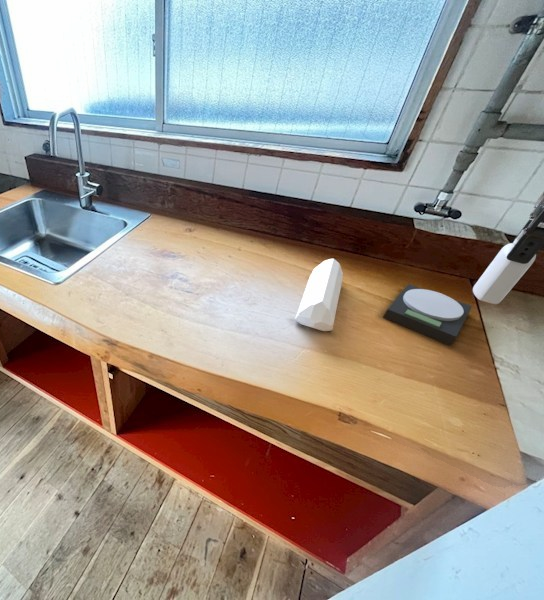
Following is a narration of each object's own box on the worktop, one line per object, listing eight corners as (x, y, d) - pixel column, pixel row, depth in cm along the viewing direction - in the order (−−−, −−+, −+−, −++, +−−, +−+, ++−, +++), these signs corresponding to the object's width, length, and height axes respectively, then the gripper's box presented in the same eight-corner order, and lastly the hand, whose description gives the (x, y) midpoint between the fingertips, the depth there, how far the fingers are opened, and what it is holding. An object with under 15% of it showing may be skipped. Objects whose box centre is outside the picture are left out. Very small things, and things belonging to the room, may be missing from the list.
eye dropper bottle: (513, 297, 50) (575, 225, 42) (492, 307, 48) (552, 234, 41) (480, 282, 53) (532, 213, 45) (459, 291, 51) (509, 221, 44)
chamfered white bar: (346, 328, 63) (355, 270, 79) (317, 304, 64) (332, 252, 80) (316, 344, 69) (330, 287, 85) (290, 322, 69) (309, 270, 85)
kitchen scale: (466, 314, 71) (474, 303, 69) (449, 345, 64) (458, 333, 62) (403, 291, 79) (409, 280, 77) (382, 317, 71) (389, 306, 69)
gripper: (690, 134, 29) (552, 284, 40) (673, 114, 37) (560, 244, 47) (571, 125, 34) (474, 262, 44) (577, 108, 41) (493, 229, 52)
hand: (519, 252), depth 46 cm, fingers closed on eye dropper bottle, 5 cm apart
